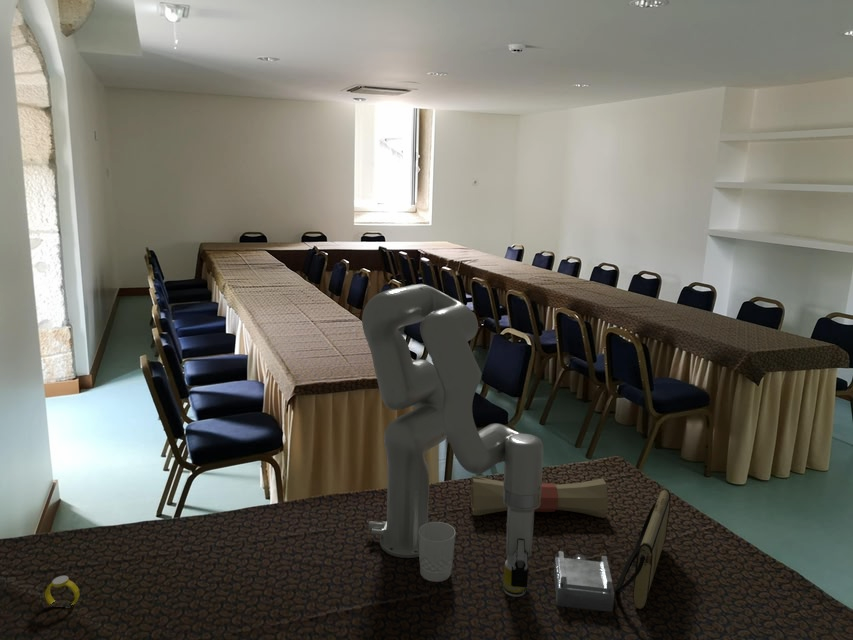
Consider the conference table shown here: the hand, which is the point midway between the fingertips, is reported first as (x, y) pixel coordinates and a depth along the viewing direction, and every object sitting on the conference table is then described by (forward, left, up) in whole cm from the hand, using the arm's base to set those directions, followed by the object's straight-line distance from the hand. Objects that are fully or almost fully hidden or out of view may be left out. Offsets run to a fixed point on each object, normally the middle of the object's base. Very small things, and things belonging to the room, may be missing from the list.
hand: (519, 571), depth 134 cm
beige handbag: (+27, +11, -5) cm, 29 cm away
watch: (-88, -21, -5) cm, 90 cm away
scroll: (+5, +34, -5) cm, 35 cm away
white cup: (-18, +3, -5) cm, 19 cm away
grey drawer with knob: (+13, +4, -5) cm, 15 cm away
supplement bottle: (-1, 0, -5) cm, 5 cm away
